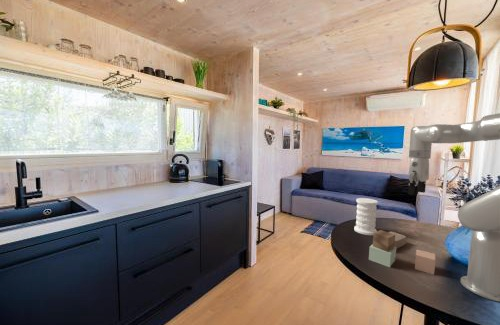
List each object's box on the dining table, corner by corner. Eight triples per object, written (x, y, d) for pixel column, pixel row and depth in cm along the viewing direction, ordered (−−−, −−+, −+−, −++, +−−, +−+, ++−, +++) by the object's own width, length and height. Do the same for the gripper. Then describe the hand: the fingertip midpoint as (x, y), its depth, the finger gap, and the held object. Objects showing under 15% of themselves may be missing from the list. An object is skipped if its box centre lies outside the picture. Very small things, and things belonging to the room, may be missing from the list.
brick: (389, 238, 118) (390, 229, 118) (407, 244, 111) (407, 235, 111) (372, 246, 110) (372, 236, 109) (390, 253, 103) (390, 243, 102)
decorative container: (349, 229, 130) (351, 199, 128) (362, 225, 135) (363, 197, 133) (368, 236, 119) (370, 204, 118) (381, 232, 125) (383, 201, 123)
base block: (395, 260, 96) (396, 247, 95) (389, 267, 90) (390, 253, 90) (375, 253, 101) (375, 241, 101) (368, 260, 96) (369, 246, 95)
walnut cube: (394, 248, 94) (395, 234, 94) (387, 252, 91) (388, 237, 90) (379, 242, 99) (380, 229, 99) (372, 246, 96) (373, 232, 95)
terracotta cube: (433, 268, 90) (434, 253, 89) (434, 274, 85) (435, 259, 85) (415, 262, 94) (416, 249, 93) (414, 269, 89) (415, 254, 89)
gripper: (423, 156, 88) (420, 198, 90) (436, 154, 98) (433, 192, 100) (401, 155, 94) (399, 194, 96) (416, 153, 104) (413, 189, 106)
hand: (416, 193), depth 98 cm, fingers open, 9 cm apart
